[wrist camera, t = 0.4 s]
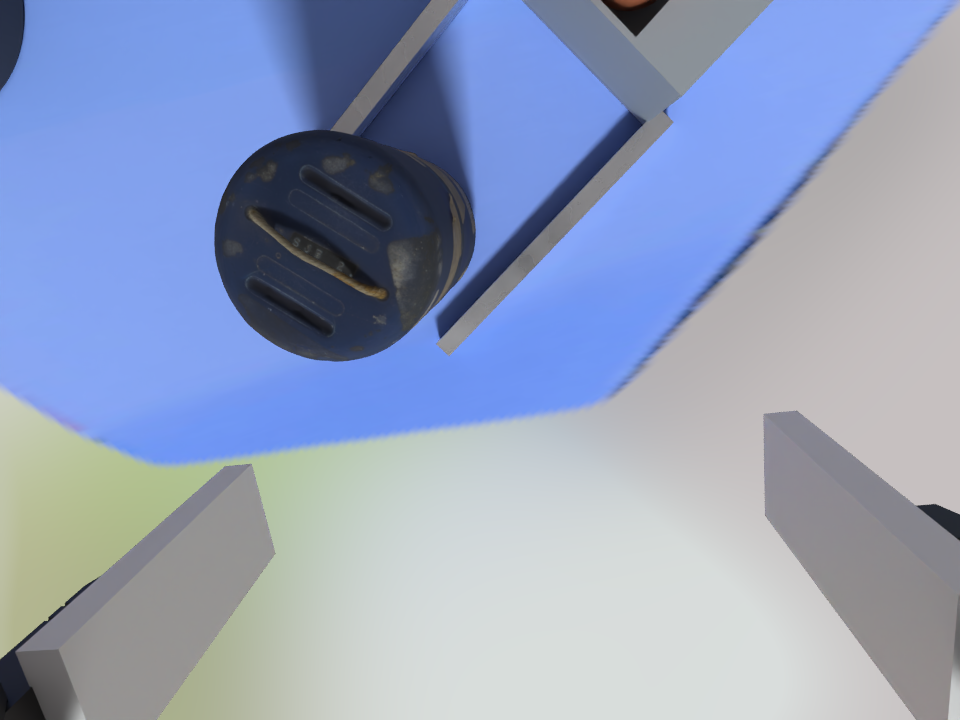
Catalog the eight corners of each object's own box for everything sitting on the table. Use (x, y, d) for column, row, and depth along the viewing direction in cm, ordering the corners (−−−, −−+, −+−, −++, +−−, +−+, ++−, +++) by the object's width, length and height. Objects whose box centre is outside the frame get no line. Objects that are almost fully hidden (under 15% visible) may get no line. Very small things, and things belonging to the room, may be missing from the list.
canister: (408, 125, 37) (295, 55, 20) (509, 234, 38) (485, 257, 21) (312, 231, 40) (136, 250, 22) (410, 330, 41) (315, 422, 24)
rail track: (287, 198, 39) (277, 197, 38) (489, -60, 34) (487, -72, 33) (452, 350, 41) (449, 356, 39) (668, 125, 36) (673, 122, 34)
